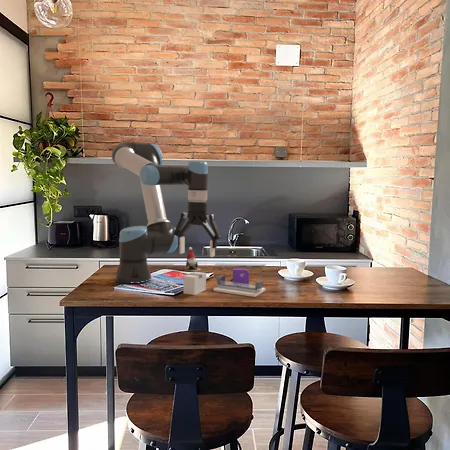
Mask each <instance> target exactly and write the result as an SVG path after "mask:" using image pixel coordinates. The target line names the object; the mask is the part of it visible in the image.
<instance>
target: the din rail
mask: <svg viewBox="0 0 450 450" xmlns="http://www.w3.org/2000/svg"><path fill="white" fill-rule="evenodd" d="M216 284H217V287H219V288H226V289H233V290H240V291H247V292H254V293H257V292H258V291H260V290H262V288H264V280H263V279H259V280H257V281H255V284H252V283H249V284H246V283H238V282H233V281H231V280H226V275H222V274H221V275H218V276H217V277H216Z"/></svg>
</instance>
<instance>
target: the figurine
mask: <svg viewBox="0 0 450 450" xmlns="http://www.w3.org/2000/svg"><path fill="white" fill-rule="evenodd" d="M185 266H186V268H188V269H187V270H185V271H186V272H200V271H201V270H202V269H201V268H200V267H198V266H199V260H198V259H197V258H196V256H195V253H194V251H193V247H191V246H189V247H188V253H187V256H186V263H185Z"/></svg>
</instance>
